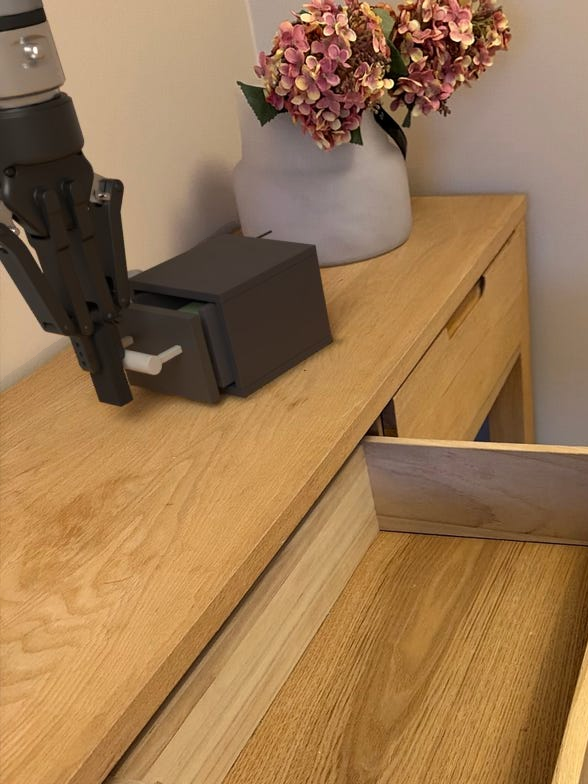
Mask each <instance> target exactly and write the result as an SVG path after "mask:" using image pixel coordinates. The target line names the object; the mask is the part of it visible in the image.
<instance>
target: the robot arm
mask: <svg viewBox="0 0 588 784" xmlns="http://www.w3.org/2000/svg"><path fill="white" fill-rule="evenodd" d="M66 81H67V78H66V76H65V72H64V68H63V66H62V62H61V59H60V55H59V52H58V49H57V46H56V42H55V39H54V35H53V33H52V29H51V25H50V22H49V19H48V17H47V14H46V11H45V7H44V2H43V0H0V262H1V264H2V266H3V268H4V269H5V271H6V273H7V274H8V276H9V277H10V279H11V280H12V282H13V284H14V285H15V287H16V289H17V290H18V291H19V293H20V295H21V297H22V298H23V300H24V301H25V303H26V305H27V306H28V307H29V309H30V311H31V313H32V314H33V316H34V317H35V319H36V321H37V322H38V324H39V325H40V327H41V328H42V330H43V331H44V332H46V333H50V334H55V335H59V336H64V337H69V340H70V342H71V345H72V348H73V351H74V354H75V356H76V357H75V358H76V359H77V362H78V365H79V368H81V370H82V371H83V372H87V373H89V375H90V378H91V382H92V385H93V388H94V390H95V393H96V396H97V399H98V402H99V403H103V404H106V405H110V406H114V407H118V408H122V407H124V406H126V405H128V404H130V403H131V402H133V401H134V400H135V399H134V397H133V393H132V391H131V386H130V384H129V380H128V377H127V374H126V371H125V369H124V368H123V365H122V362H121V359H123V358H125V351H124V347H123V345H122V341H121V338H120V335H119V332H118V328H117V325H121V324H122V322H123V320H124V316H123V315H120V314H118V313H119V312H120V311H121V310H122V309H123V308H125V309H126V308H128V307H129V306H130V303H131V298H130V289H129V281H128V272H127V271H128V265H127V255H126V245H125V237H124V229H123V219H122V212H121V211H122V207H123V199H124V192H125V185H124V183H123V181H122V180H121V179H118V178H111V177H105V176H103V175H101V174H99V173H96V172H94V168H93V165H92V163H91V162H90V161H89V160H88V158H87V157H86V155H85V154H84V152H83V148H84V147H85V137H84V133H83V131H82V128H81V124H80V121H79V118H78V117H79V116H78V115H77V111H76V108H75V104H74V101H73V97H71V96H70V95H69V94H68V93H67V92H65V91H61V87H63V86H64V84H65V82H66ZM14 222H15V223H16V224H17V225H19V226H20V227H21V228H22V229H23V232H24V234H25V237H26V240H27V243H28V245H29V246H30V247H31V248H32V249H33V250H34V251H35V253H36V254H35V255H36V258H37V260H38V262H39V264H38V262H37V260H36V259H35V257H34V256H33V253H32V252H31V251H30V249H29V248H28V246H27V245H26V243H25V242H24V241H23V240H22V239H21V238H20V237H19V236H20V234H21V231H20V229H19V227H17V226H16V225H15V223H14ZM39 265H40V266H39Z"/></svg>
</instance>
